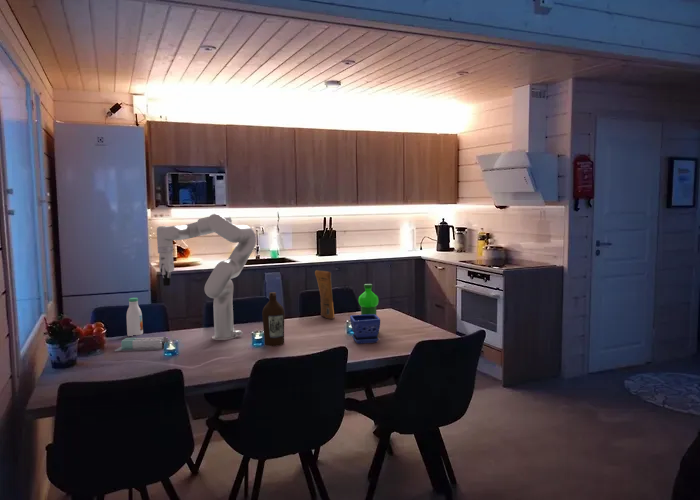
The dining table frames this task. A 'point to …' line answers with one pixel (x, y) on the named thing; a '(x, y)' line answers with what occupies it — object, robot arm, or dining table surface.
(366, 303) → the plastic bottle
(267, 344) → the olive oil
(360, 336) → the flower pot
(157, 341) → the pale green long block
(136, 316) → the milk bottle
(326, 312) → the pancake mix bag
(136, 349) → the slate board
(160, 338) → the toothpaste tube
